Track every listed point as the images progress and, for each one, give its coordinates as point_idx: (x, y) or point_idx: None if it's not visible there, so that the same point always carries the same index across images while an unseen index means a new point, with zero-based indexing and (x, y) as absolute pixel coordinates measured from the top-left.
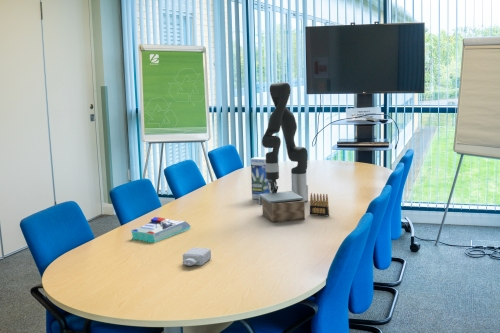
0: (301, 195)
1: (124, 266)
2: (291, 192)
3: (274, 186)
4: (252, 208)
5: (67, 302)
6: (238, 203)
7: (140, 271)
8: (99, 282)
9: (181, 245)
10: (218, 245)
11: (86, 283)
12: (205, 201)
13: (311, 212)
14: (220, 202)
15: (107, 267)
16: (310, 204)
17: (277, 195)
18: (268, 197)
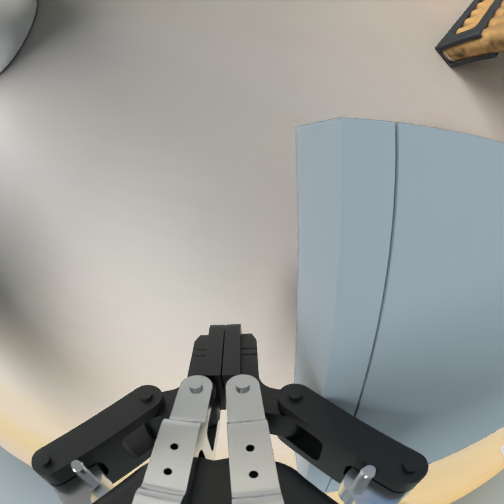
0: (6, 1)
1: (459, 488)
2: (464, 171)
3: (400, 499)
4: (122, 376)
5: (490, 478)
6: (23, 383)
7: (485, 471)
8: (476, 483)
9: (447, 477)
10: (496, 434)
11: (469, 489)
12: (20, 437)
13: (465, 58)
14: (21, 418)
15: (447, 497)
16: (500, 51)
17: (470, 390)
18: (460, 440)
